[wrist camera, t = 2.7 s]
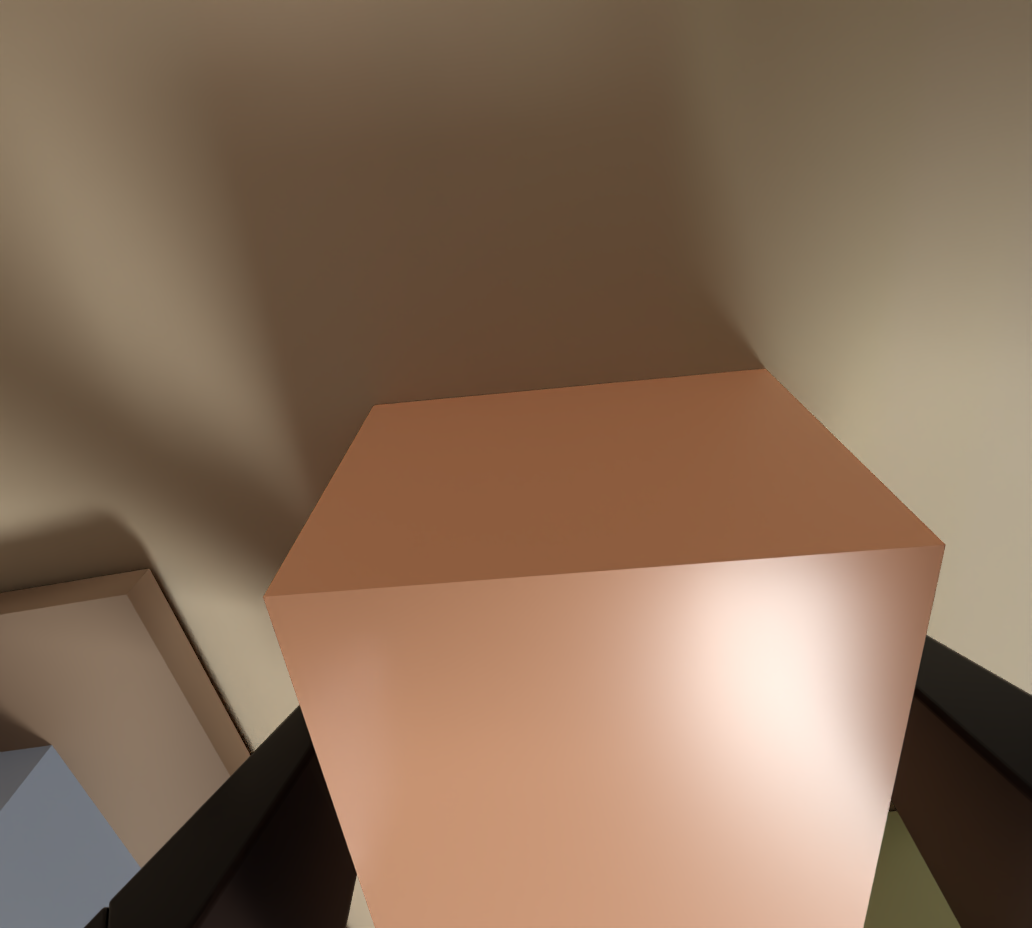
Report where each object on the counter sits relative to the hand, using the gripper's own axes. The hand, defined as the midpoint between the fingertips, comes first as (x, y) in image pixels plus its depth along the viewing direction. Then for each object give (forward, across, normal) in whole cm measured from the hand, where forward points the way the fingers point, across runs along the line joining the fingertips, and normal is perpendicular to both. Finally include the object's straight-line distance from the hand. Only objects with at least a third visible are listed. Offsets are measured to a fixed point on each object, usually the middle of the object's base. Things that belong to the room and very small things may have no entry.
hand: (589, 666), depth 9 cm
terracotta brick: (+1, 0, 0) cm, 1 cm away
